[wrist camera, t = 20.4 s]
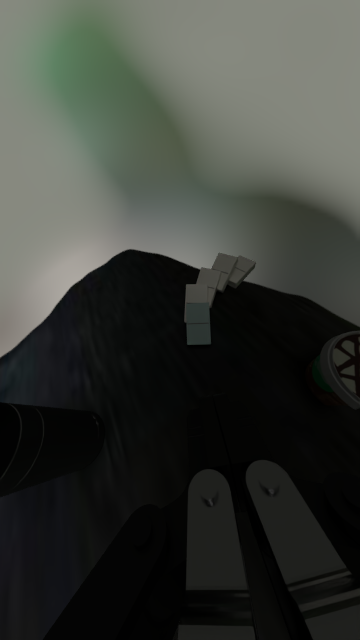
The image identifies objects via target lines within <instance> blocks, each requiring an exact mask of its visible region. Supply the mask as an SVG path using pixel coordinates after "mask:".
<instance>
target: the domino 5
mask: <svg viewBox="0 0 360 640" xmlns="http://www.w3.org/2000/svg"><path fill="white" fill-rule="evenodd" d="M255 264H256V262H254V261H252V260H249V259H247V258H245V257H242V256H239V257H238V263H237V265H236V267H235V269H234V271H233V273H232V275H231V277H230V279H229V282H228V285H230V286H232V287H234V288H236V287H237V286H238V285H239V284H240V283H241V282H242V281H243V280H244V279H245V278H246V277H247V275H248V274H249V273H250V272H251V271H252V270H253V269H254V268H255Z"/></svg>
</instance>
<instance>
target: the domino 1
mask: <svg viewBox="0 0 360 640" xmlns="http://www.w3.org/2000/svg"><path fill="white" fill-rule="evenodd" d="M221 275H222V273H221V271H218V270H213V269H207V268H201V270H200V273H199V277H198V280H197V283H196V284H208V299H207V302H209V308H211V307H212V304H213V301H214V297H215V294H216V291H217V288H218V284H219V281H220V278H221Z"/></svg>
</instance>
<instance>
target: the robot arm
mask: <svg viewBox="0 0 360 640" xmlns="http://www.w3.org/2000/svg"><path fill="white" fill-rule="evenodd" d="M212 396H213V400H212ZM212 396H205V397H200V398H198V400H199V407H200V408H199V409H194V410H190V413H189V415H188V417H187V428H188V447H189V467H190V477H189V482H188V485H187V487H186V489H185V491H184V492H183V493H182V495H181V496H180V497H179V498H178V499H176V500H175V501H174V502H172V503H170V504H169V505H167V506H165V507H164V508H162V509H161V510H160V508H158V507H157V506H155V505H151V504H149V505H144V506H142V507H140V508H138V509H137V510H136V511H135V512H134V513H133V514H132V515H131V516H130V517H129V519H128V520H127V521H126V523H125V524H124V526H123V527H122V529H121V530H120V531H119V533H118V534H117V536H116V537H115V538H114V540H113V541H112V543H111V544H110V545H109V547H108V548H107V550H106V551H105V553H104V554H103V555H102V557H101V558H100V560H99V561H98V562H97V564H96V565H95V567H94V568H93V569H92V571H91V572H90V574H89V575H88V576H87V578H86V579H85V581H84V582H83V584H82V585H81V586H80V588H79V589H78V591H77V592H76V593H75V595H74V596H73V598H72V599H71V600H70V602H69V603H68V605H67V606H66V608H65V609H64V610H63V612H62V613H61V615H60V616H59V617H58V619H57V620H56V622H55V623H54V624H53V626H52V627H51V629H50V630H49V632H48V633H47V634H46V636H45V637H44V639H43V640H172V639H173V636H174V634H175V631H176V628H177V626H178V623H179V630H178V640H259V637H258V632H257V626H256V621H255V615H254V610H253V604H252V599H251V593H250V588H249V582H248V577H247V571H246V566H245V560H244V555H243V549H242V544H241V539H240V534H239V530H238V525H237V520H236V515H235V513H237V512H239V507H238V502H237V498H238V501H239V505H240V509H241V512H245V511H247V512H248V515H249V519H250V522H251V526H252V529H253V533H254V535H255V538H256V540H257V543H258V547H259V549H260V552H261V555H262V558H263V561H264V564H265V567H266V570H267V573H268V575H269V578H270V581H271V584H272V587H273V590H274V593H275V596H276V598H277V601H278V604H279V607H280V610H281V613H282V616H283V619H284V622H285V624H286V627H287V630H288V633H289V636H290V639H291V640H360V478H358V477H356V476H353V475H351V474H347V473H342V472H335V473H331V474H329V475H328V476H327V477H326V478H325V480H324V484H321V483H316V482H311V481H305V480H301V479H297V478H295V477H292V476H291V475H289V474H287V473H286V472H285V471H284V470H283V469H282V468H281V467H280V466H278V465H277V464H276V463H275V462H274V460H273V459H272V457H271V455H270V453H269V451H268V449H267V447H266V445H265V443H264V441H263V439H262V437H261V435H260V434H259V432H258V430H257V428H256V426H255V424H254V422H253V420H252V418H251V416H250V414H249V412H248V410H247V408H246V407H245V406H244V405H242V404H241V403H240V402H239V401H236V402H231V403H230V402H229V399H228V397H227V394H226V393H221V394H216V395H212ZM213 401H214V404H213ZM214 406H215V407H214ZM103 441H104V424H103V422H102V419H101V418H100V417H99V416H98V415H97V414H96V413H94V412H90V411H81V410H72V409H62V408H53V407H43V406H33V405H22V404H12V403H2V402H0V497H3V496H6V495H9V494H11V493H14V492H17V491H20V490H23V489H26V488H29V487H31V486H34V485H37V484H40V483H43V482H46V481H49V480H51V479H54V478H57V477H60V476H63V475H66V474H69V473H72V472H75V471H77V470H80V469H83V468H85V467H86V466H88V465H89V464H90V463H91V462H92V461H93V460H94V459H95V458H96V456H97V455H98V453H99V451H100V449H101V447H102V444H103ZM234 486H235V487H234ZM235 490H236V492H235ZM236 494H237V497H236Z"/></svg>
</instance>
